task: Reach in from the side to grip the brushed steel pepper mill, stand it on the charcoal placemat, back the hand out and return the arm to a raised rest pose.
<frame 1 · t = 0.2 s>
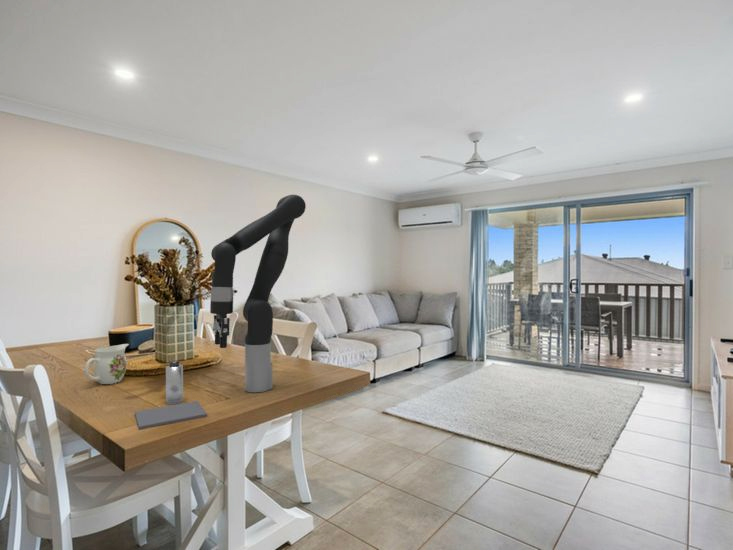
hand: (220, 346, 140), 18 cm above the table, tool pointing down, fingers open, 8 cm apart
placemat: (170, 415, 122), on the table
pepper mill: (174, 401, 134), on the table
pitcher: (108, 383, 156), on the table
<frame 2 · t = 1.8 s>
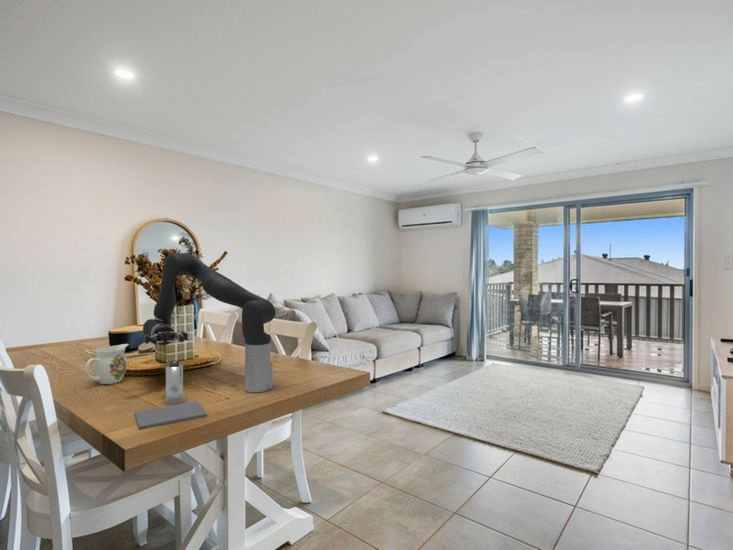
hand: (169, 340, 143), 19 cm above the table, tool horizontal, fingers open, 8 cm apart
nothing on the table moved.
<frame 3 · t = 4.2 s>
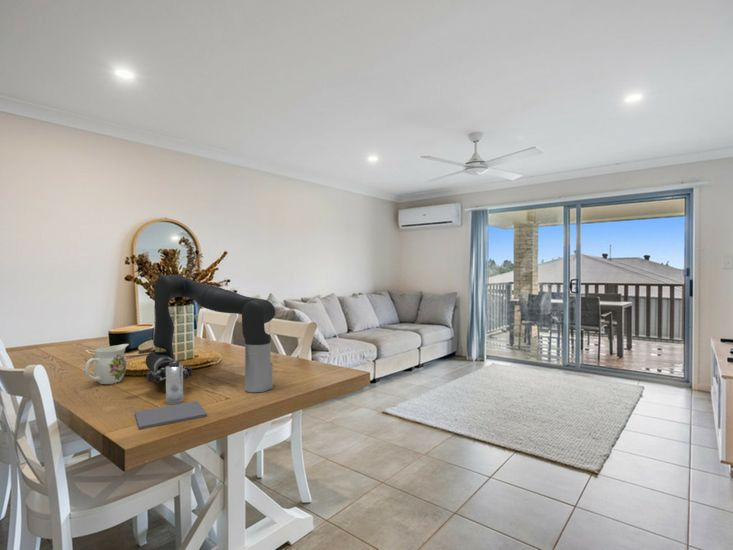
hand: (172, 377, 138), 7 cm above the table, tool horizontal, fingers open, 8 cm apart
nothing on the table moved.
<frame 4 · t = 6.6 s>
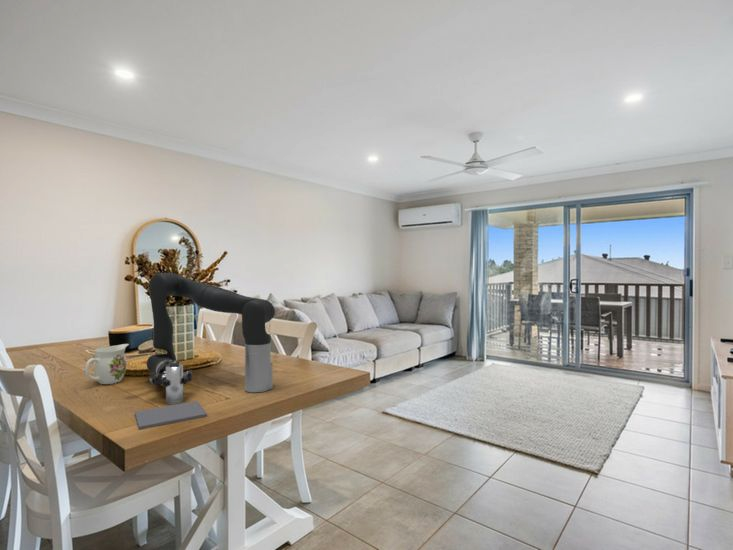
hand: (175, 382, 132), 7 cm above the table, tool horizontal, fingers closed on pepper mill, 5 cm apart
pepper mill: (174, 401, 134), on the table, touching gripper
everything else where it was.
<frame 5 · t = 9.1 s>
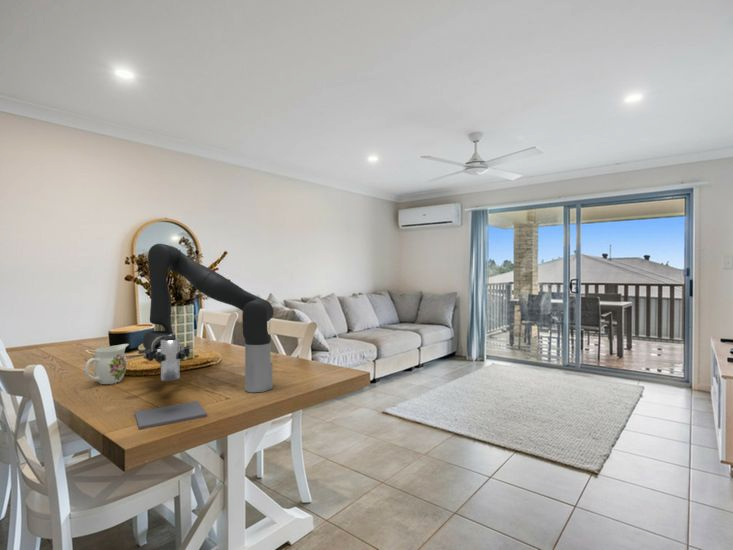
hand: (171, 357, 121), 18 cm above the table, tool horizontal, fingers closed on pepper mill, 5 cm apart
pepper mill: (170, 378, 124), point 11 cm above the table, touching gripper
everything else where it was.
when the fingers open (9 cm above the table, at t = 11.9 s): pepper mill stays where it is, resting on placemat.
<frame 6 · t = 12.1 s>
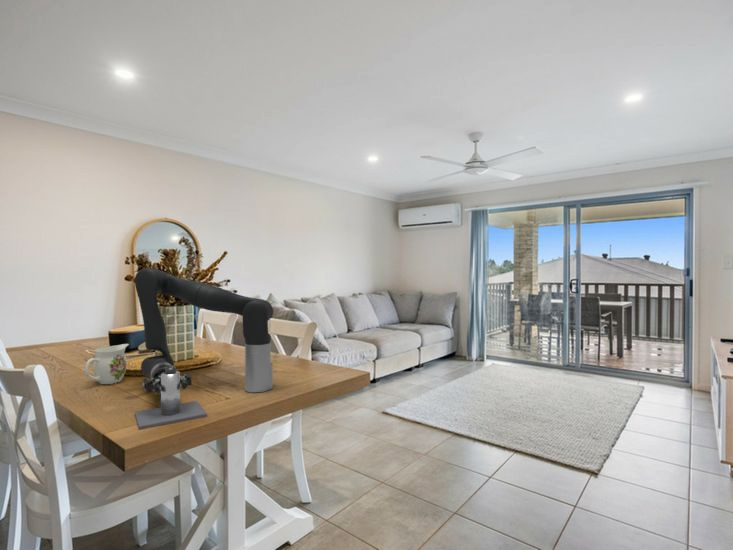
hand: (171, 387, 120), 9 cm above the table, tool horizontal, fingers open, 6 cm apart
pepper mill: (170, 412, 122), point 1 cm above the table, touching placemat
everything else where it was.
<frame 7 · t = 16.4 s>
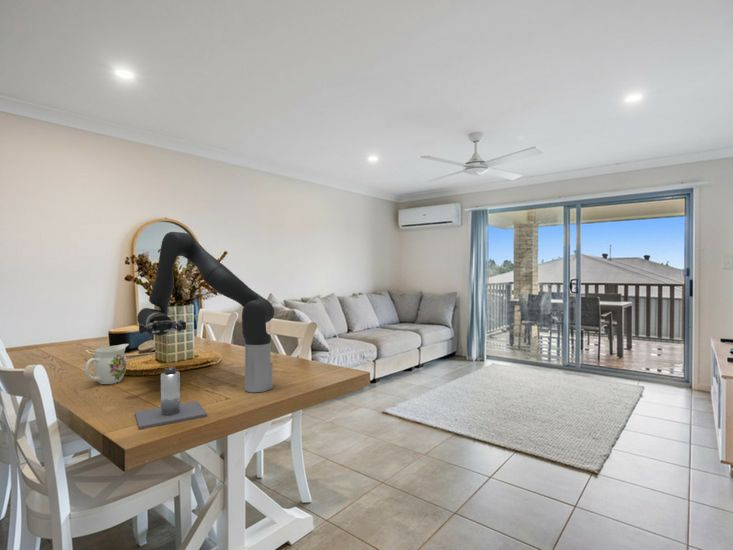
hand: (165, 329, 131), 25 cm above the table, tool horizontal, fingers open, 8 cm apart
nothing on the table moved.
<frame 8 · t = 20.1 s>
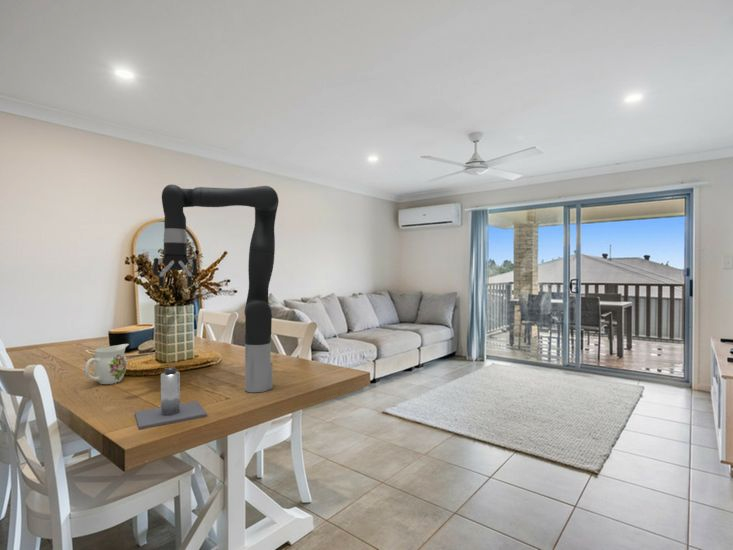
hand: (175, 287, 143), 38 cm above the table, tool pointing down, fingers open, 8 cm apart
nothing on the table moved.
at the end: pepper mill inside the target area on the placemat (0.1 cm from its centre), point 0.8 cm above the placemat's base; pepper mill tilted 0°; the gripper is holding nothing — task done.
